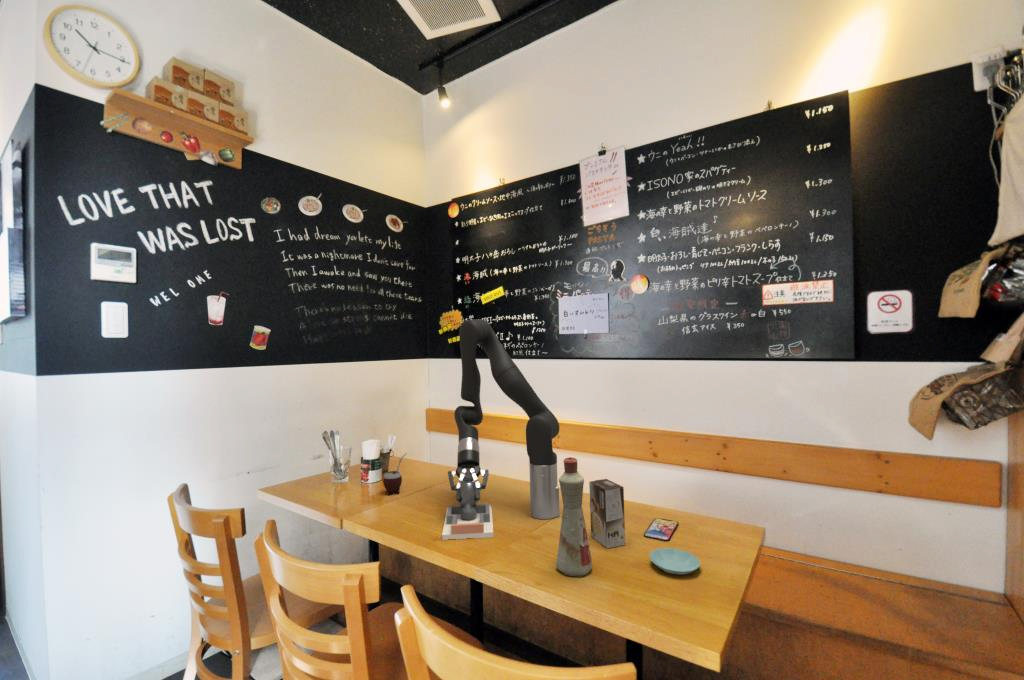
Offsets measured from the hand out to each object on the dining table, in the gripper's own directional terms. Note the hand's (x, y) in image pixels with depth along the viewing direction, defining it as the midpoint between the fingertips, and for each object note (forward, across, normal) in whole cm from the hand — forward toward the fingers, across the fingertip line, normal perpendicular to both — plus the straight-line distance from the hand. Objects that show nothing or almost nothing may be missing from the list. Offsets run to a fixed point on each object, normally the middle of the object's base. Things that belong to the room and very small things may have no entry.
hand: (468, 500), depth 140 cm
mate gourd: (-19, -30, +30) cm, 47 cm away
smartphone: (+14, +58, -3) cm, 60 cm away
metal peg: (+3, 0, +4) cm, 5 cm away
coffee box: (+17, +40, -7) cm, 44 cm away
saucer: (+29, +52, -19) cm, 63 cm away
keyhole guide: (+5, 0, +5) cm, 7 cm away
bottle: (+28, +27, -18) cm, 43 cm away
